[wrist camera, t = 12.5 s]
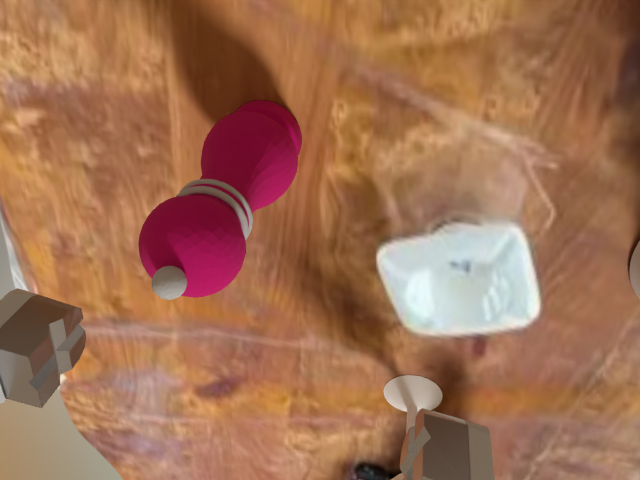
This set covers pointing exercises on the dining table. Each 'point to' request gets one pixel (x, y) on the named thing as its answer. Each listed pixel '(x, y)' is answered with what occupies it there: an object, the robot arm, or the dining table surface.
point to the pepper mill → (221, 202)
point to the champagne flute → (412, 398)
